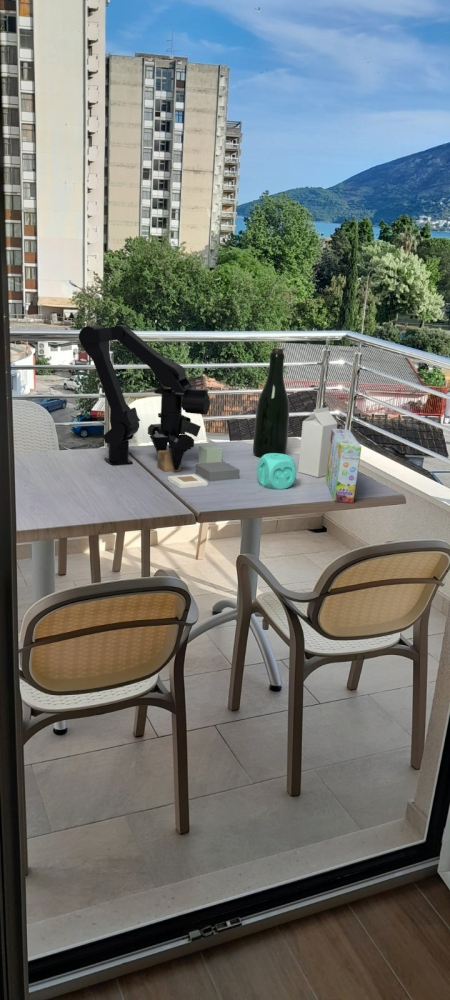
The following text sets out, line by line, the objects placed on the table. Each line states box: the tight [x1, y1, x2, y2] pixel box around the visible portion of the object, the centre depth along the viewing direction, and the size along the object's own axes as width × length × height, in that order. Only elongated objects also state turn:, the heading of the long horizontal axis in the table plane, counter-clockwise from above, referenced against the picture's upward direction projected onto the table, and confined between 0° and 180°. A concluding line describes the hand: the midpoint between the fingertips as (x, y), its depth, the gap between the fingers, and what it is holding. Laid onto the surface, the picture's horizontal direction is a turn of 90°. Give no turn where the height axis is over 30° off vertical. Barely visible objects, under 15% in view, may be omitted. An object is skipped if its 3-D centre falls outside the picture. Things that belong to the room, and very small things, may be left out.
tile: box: [167, 473, 209, 489], centre depth 199 cm, size 8×8×1 cm
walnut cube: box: [156, 449, 182, 473], centre depth 211 cm, size 5×5×5 cm
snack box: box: [325, 428, 362, 504], centre depth 198 cm, size 21×6×15 cm, turn 179°
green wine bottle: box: [252, 347, 290, 458], centre depth 229 cm, size 10×10×33 cm
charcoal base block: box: [194, 461, 241, 482], centre depth 208 cm, size 9×9×3 cm
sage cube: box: [198, 444, 223, 464], centre depth 219 cm, size 5×5×5 cm
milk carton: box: [297, 406, 338, 478], centre depth 214 cm, size 7×7×19 cm
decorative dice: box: [256, 453, 297, 490], centre depth 201 cm, size 8×8×8 cm
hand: (169, 465), depth 211 cm, fingers open, 9 cm apart
